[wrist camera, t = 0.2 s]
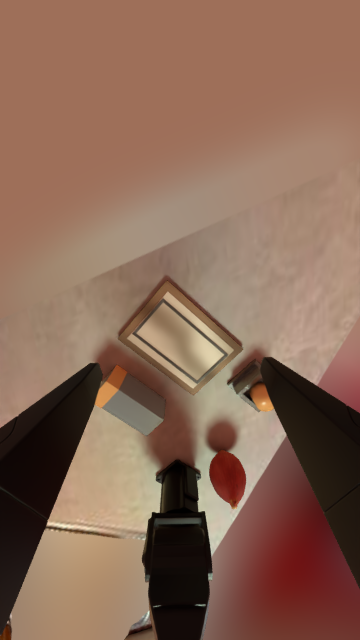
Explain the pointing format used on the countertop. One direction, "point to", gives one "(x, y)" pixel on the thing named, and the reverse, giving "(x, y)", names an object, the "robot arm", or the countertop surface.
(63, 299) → the countertop surface
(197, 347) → the picture frame
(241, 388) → the button collar
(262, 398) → the button
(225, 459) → the onion
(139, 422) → the grey orange block
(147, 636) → the tube
